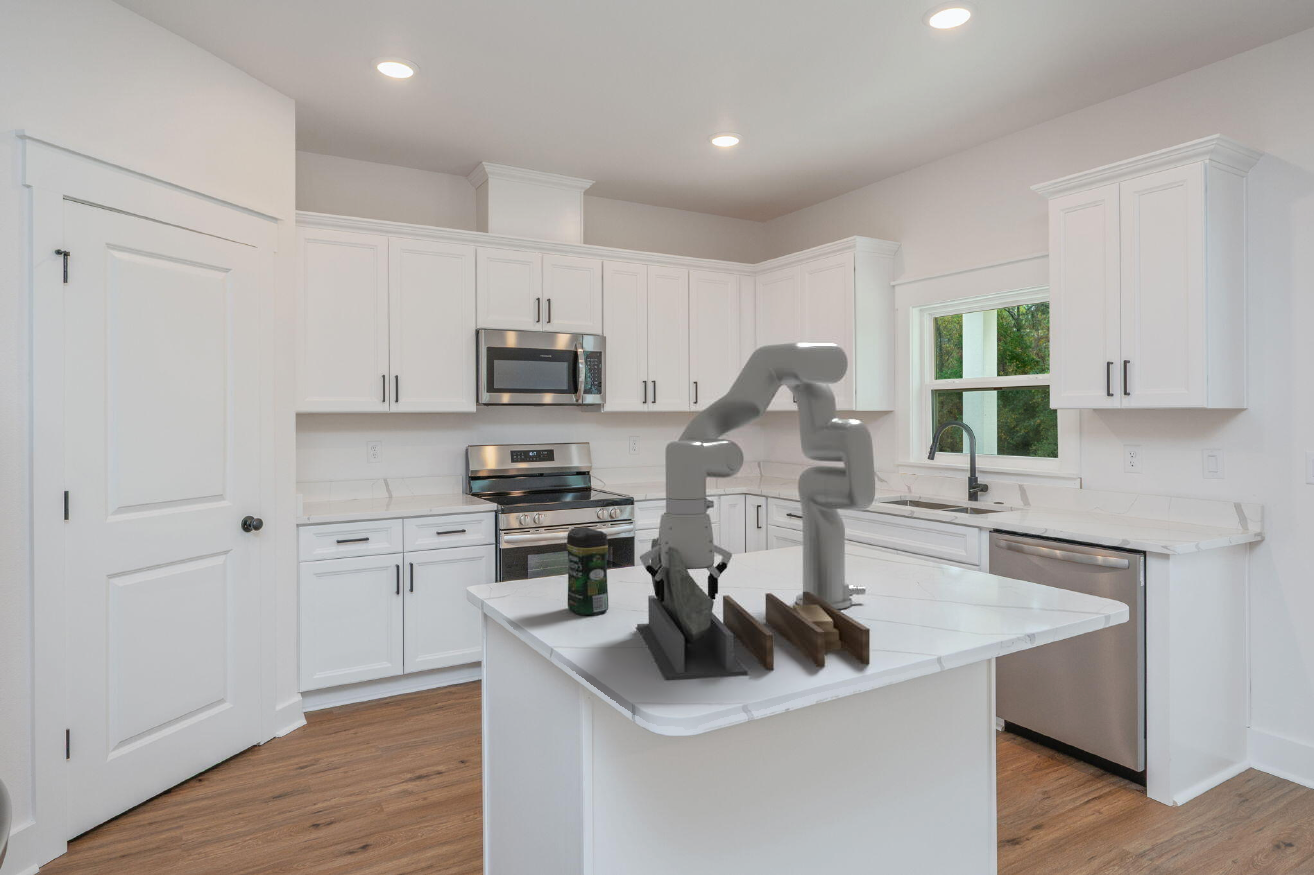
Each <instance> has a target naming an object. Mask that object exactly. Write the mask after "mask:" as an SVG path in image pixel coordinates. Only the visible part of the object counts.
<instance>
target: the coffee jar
mask: <svg viewBox="0 0 1314 875" xmlns="http://www.w3.org/2000/svg"><path fill="white" fill-rule="evenodd" d="M566 539H567V540H566V549H567V564H568V566H567V569H568V570H567V607H568V610H570V611H572V612H574V613H576V614H579V615H582V616H583V615H584V616H585V615H587V616H588V615H592V616H597V615H601V614H603V613H605V612H607V611H608V610H609V592H608V591H609V590H608V573H607V572H608V569H607V568H608V566H607V560H608V559H607V557H608V556H607V554H608V550H609V549H608V548H609V547H608V546H609V542H608V541H609V540H608V535H607V533H606V532H603V531H602V530H599V529H598V530H597V529H593V528H590V527H588V526H584V527H574V528H571V530H569V531H568V533H567V537H566Z"/></svg>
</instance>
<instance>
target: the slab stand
mask: <svg viewBox="0 0 1314 875" xmlns="http://www.w3.org/2000/svg"><path fill="white" fill-rule="evenodd" d="M647 601H648V612H647V613H648V623H637V624H636V625H637V626H636V627H637V630H638V631H639V632H640V635H641V637H642V638H643V640H644V642H645V644H646V646H647V648H648V650H649V652H650V654H651V655H652V658H653V659H654V661H655V663H656V666H657V667H658V669H659V671H660V673H661V675H662V678H664V681H672V680H686V679H689V680H690V679H702V678H716V677H731V676H733V677H734V676H746V675H749V671H748V669H747V668H746V667H745V666H744V665H743V663H742V662H740V660H739V659H738V658H737V657H736V656H735V655H734V635H733V634H732V633H731V631H730V630H729V629H728V628H727V627H726V626H725V625H724V624H723V621H721V620H720V619H719V618H718V617H717V615H716V614H715V613H713V612H712V615H711V623H710V627H709V628H708V631H707V633H706V634H705V635H704V636H703V638H702V639H701V640H698V641H696V642H695V643H693V644H689V643H688V644H686V643H685V642H684V636H683V635H682V633H681V632H680V631H679V629H678V628H677V626H676V625H675V624H674V622H673V621H672V620H671V618H670V617H669V615H668V614H667V613H666V611H665V610H664V608H663V607H662V606H661V604H660V603H659V601H658V600H657V598H656V596H655V594H653V595H652V594H651V595H648V599H647Z"/></svg>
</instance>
